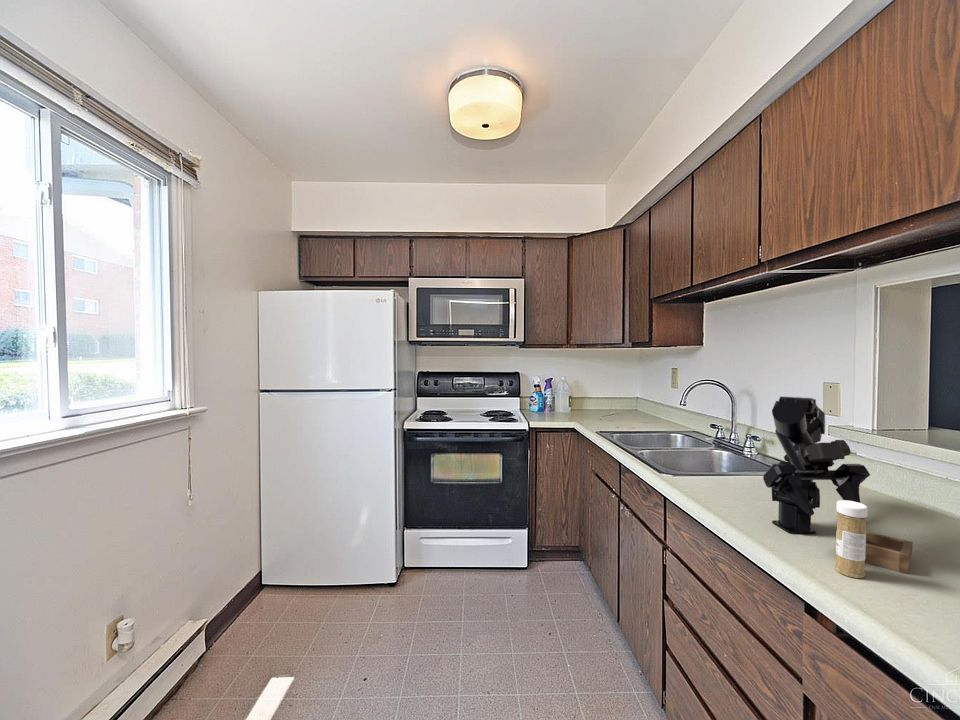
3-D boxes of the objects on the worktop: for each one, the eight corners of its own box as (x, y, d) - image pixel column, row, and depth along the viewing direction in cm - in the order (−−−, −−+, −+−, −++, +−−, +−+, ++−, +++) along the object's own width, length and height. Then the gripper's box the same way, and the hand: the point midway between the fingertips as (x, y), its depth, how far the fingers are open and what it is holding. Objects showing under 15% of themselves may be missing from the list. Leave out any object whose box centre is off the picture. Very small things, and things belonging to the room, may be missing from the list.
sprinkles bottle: (836, 564, 89) (837, 497, 88) (866, 572, 86) (868, 503, 85) (833, 573, 85) (835, 503, 85) (865, 582, 82) (867, 509, 82)
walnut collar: (847, 557, 92) (847, 540, 92) (855, 544, 98) (855, 528, 98) (907, 574, 85) (908, 555, 85) (912, 559, 91) (912, 542, 91)
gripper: (772, 425, 93) (809, 495, 83) (863, 425, 93) (912, 496, 82) (749, 453, 102) (780, 521, 91) (833, 454, 101) (874, 521, 91)
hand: (835, 514), depth 88 cm, fingers open, 9 cm apart
